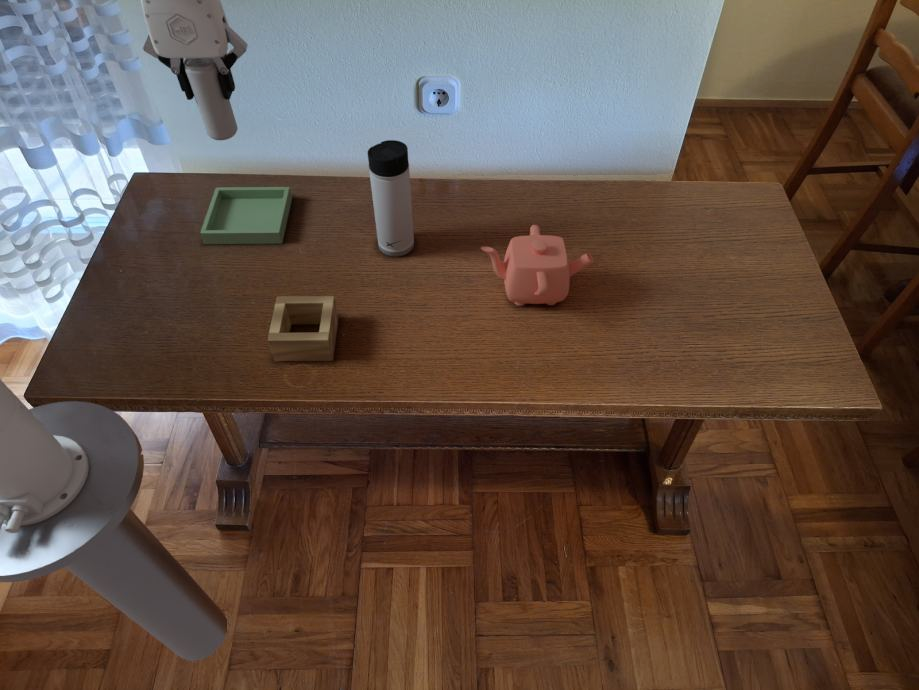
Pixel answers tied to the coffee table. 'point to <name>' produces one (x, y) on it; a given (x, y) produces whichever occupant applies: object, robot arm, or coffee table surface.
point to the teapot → (536, 268)
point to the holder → (303, 344)
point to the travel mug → (391, 197)
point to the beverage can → (210, 98)
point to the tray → (247, 215)
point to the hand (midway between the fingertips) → (210, 93)
